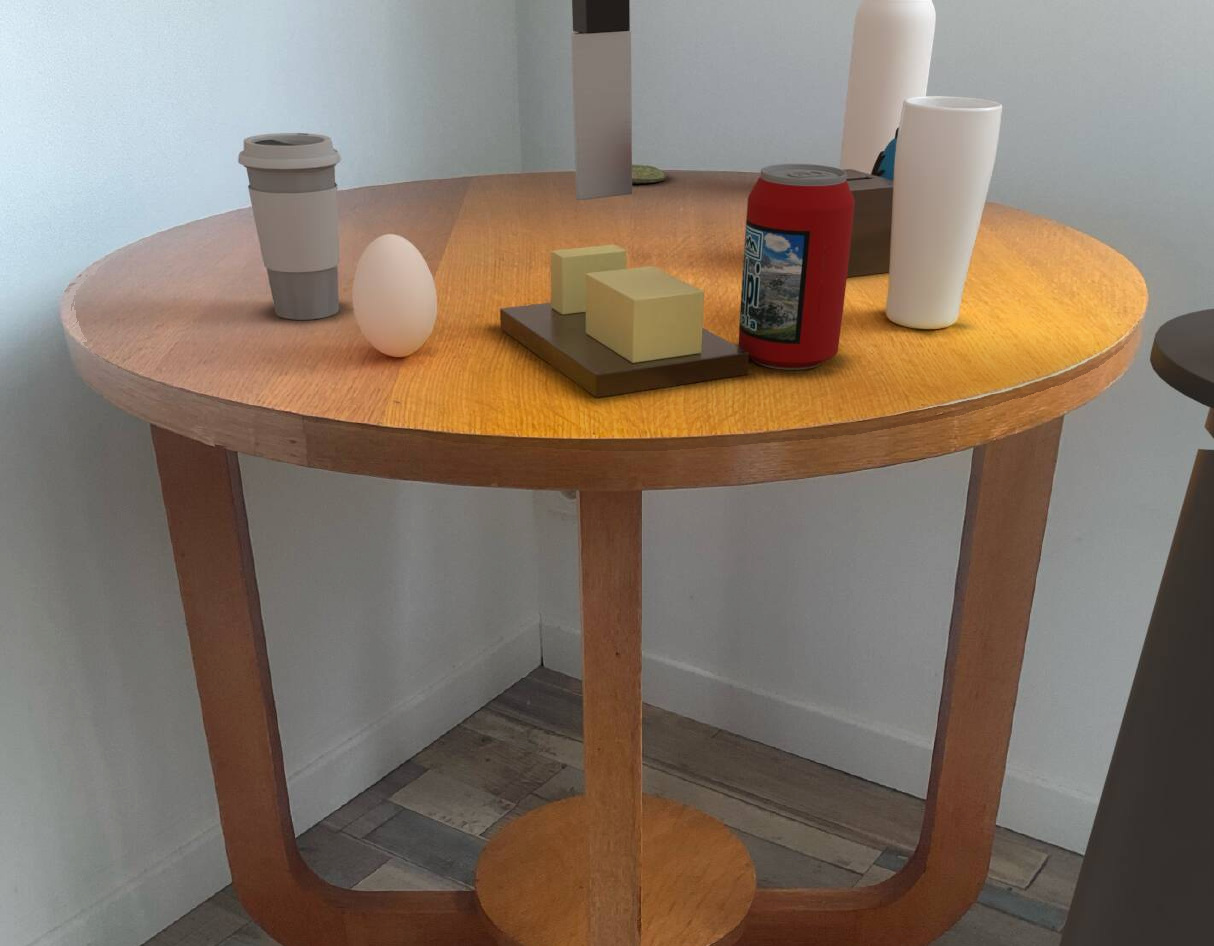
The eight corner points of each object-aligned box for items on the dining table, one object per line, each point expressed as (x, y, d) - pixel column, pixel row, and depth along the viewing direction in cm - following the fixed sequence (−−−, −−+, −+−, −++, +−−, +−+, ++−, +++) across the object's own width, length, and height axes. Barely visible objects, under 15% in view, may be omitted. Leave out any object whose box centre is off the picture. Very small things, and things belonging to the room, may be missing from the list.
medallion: (676, 174, 139) (676, 168, 139) (648, 186, 133) (649, 179, 133) (613, 168, 142) (613, 162, 142) (583, 179, 136) (583, 172, 136)
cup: (368, 302, 92) (353, 134, 86) (335, 327, 87) (316, 149, 81) (281, 296, 93) (260, 130, 87) (242, 320, 88) (217, 144, 82)
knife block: (897, 271, 102) (909, 184, 99) (829, 279, 100) (838, 191, 96) (842, 250, 109) (851, 168, 105) (776, 258, 106) (783, 174, 102)
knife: (638, 196, 81) (636, -81, 73) (584, 202, 80) (576, -79, 71) (623, 190, 83) (620, -80, 75) (570, 197, 81) (561, -79, 73)
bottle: (867, 205, 126) (907, -135, 111) (821, 191, 132) (853, -133, 117) (927, 198, 130) (974, -133, 114) (880, 185, 136) (918, -131, 120)
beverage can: (720, 349, 83) (730, 165, 77) (805, 339, 85) (822, 159, 79) (766, 379, 78) (782, 184, 72) (856, 368, 80) (879, 177, 74)
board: (748, 374, 79) (749, 352, 78) (596, 398, 74) (596, 374, 74) (636, 311, 91) (636, 291, 90) (500, 328, 87) (499, 308, 86)
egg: (391, 374, 78) (380, 248, 74) (341, 355, 81) (328, 233, 77) (456, 356, 81) (450, 235, 77) (406, 338, 85) (397, 221, 80)
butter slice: (625, 307, 87) (626, 250, 85) (562, 315, 85) (561, 256, 83) (613, 300, 88) (614, 244, 86) (550, 307, 86) (550, 250, 84)
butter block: (701, 353, 78) (705, 290, 75) (632, 363, 76) (634, 299, 74) (651, 324, 83) (652, 265, 81) (585, 333, 81) (585, 273, 79)
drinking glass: (864, 326, 88) (891, 104, 81) (887, 304, 94) (914, 93, 86) (957, 339, 86) (994, 111, 78) (975, 315, 91) (1012, 99, 83)
